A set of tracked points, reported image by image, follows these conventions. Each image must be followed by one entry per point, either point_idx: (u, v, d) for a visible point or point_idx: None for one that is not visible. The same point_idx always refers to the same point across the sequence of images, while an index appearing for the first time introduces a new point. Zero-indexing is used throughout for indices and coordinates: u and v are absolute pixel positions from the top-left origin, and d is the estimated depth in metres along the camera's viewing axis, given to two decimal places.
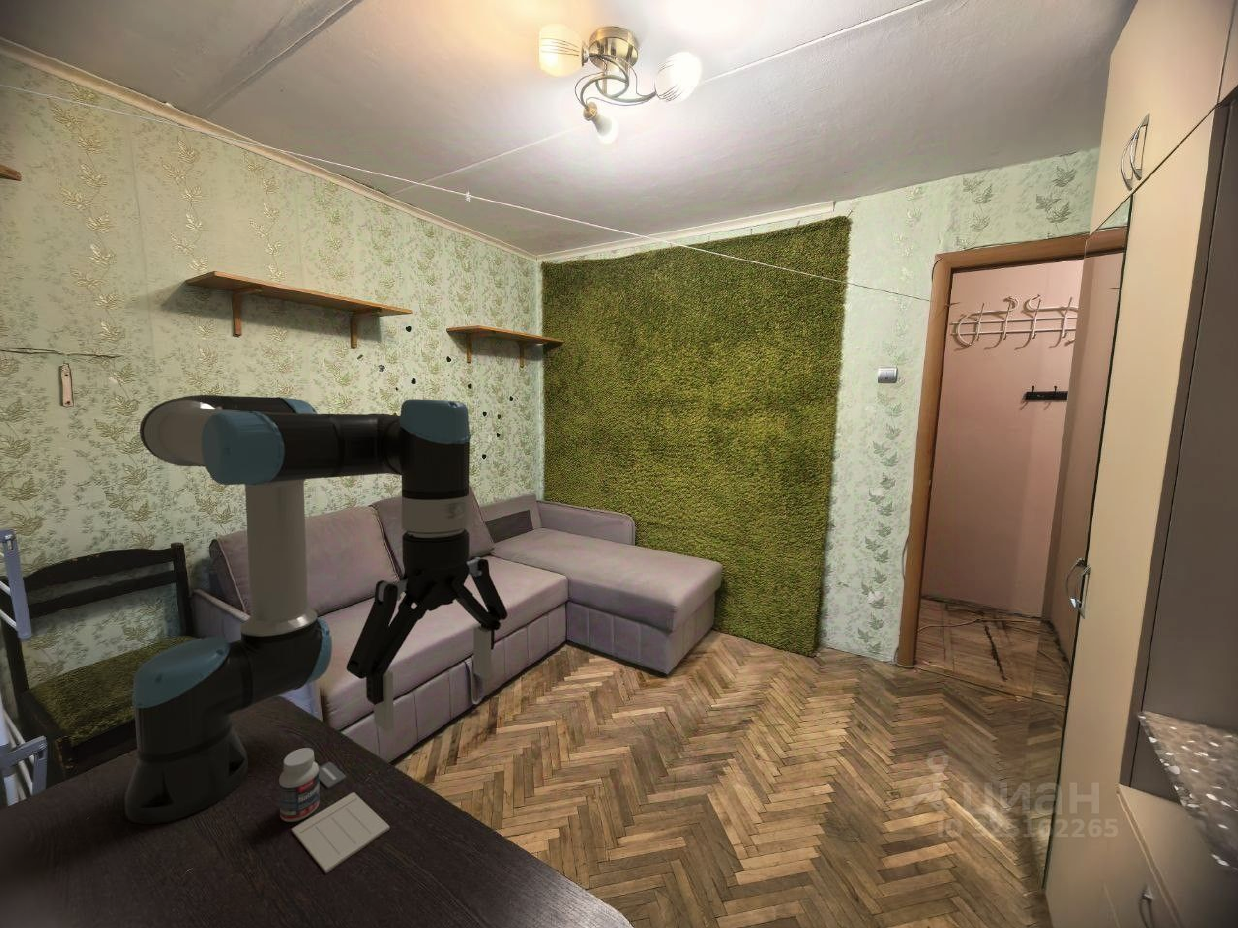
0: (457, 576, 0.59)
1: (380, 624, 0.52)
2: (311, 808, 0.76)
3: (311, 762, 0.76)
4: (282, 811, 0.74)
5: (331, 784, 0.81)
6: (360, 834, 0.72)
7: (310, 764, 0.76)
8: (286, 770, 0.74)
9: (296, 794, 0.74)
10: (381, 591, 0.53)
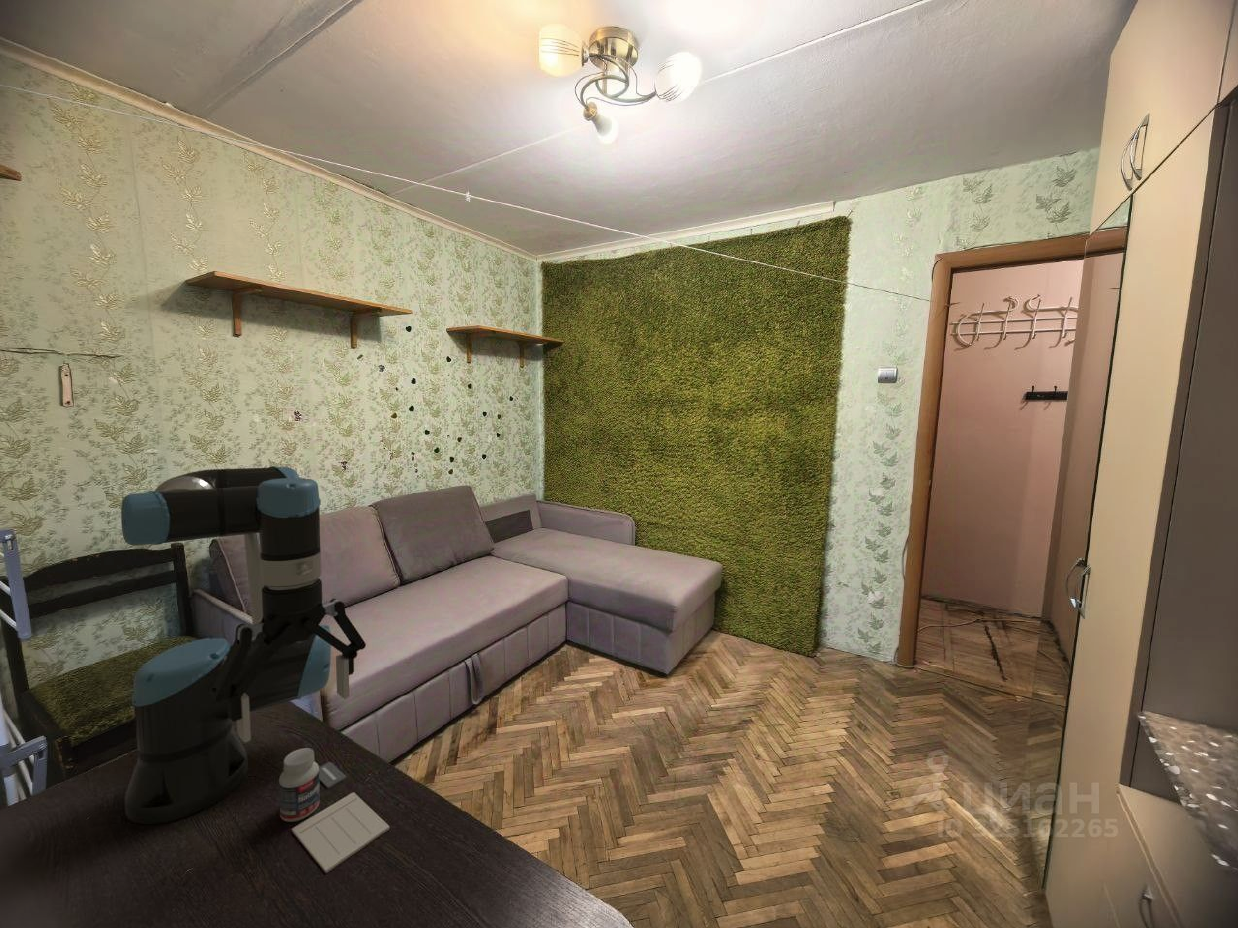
0: (312, 617, 0.75)
1: (236, 659, 0.67)
2: (311, 808, 0.76)
3: (311, 762, 0.76)
4: (282, 811, 0.74)
5: (331, 784, 0.81)
6: (360, 834, 0.72)
7: (310, 764, 0.76)
8: (286, 770, 0.74)
9: (296, 794, 0.74)
10: (238, 633, 0.68)
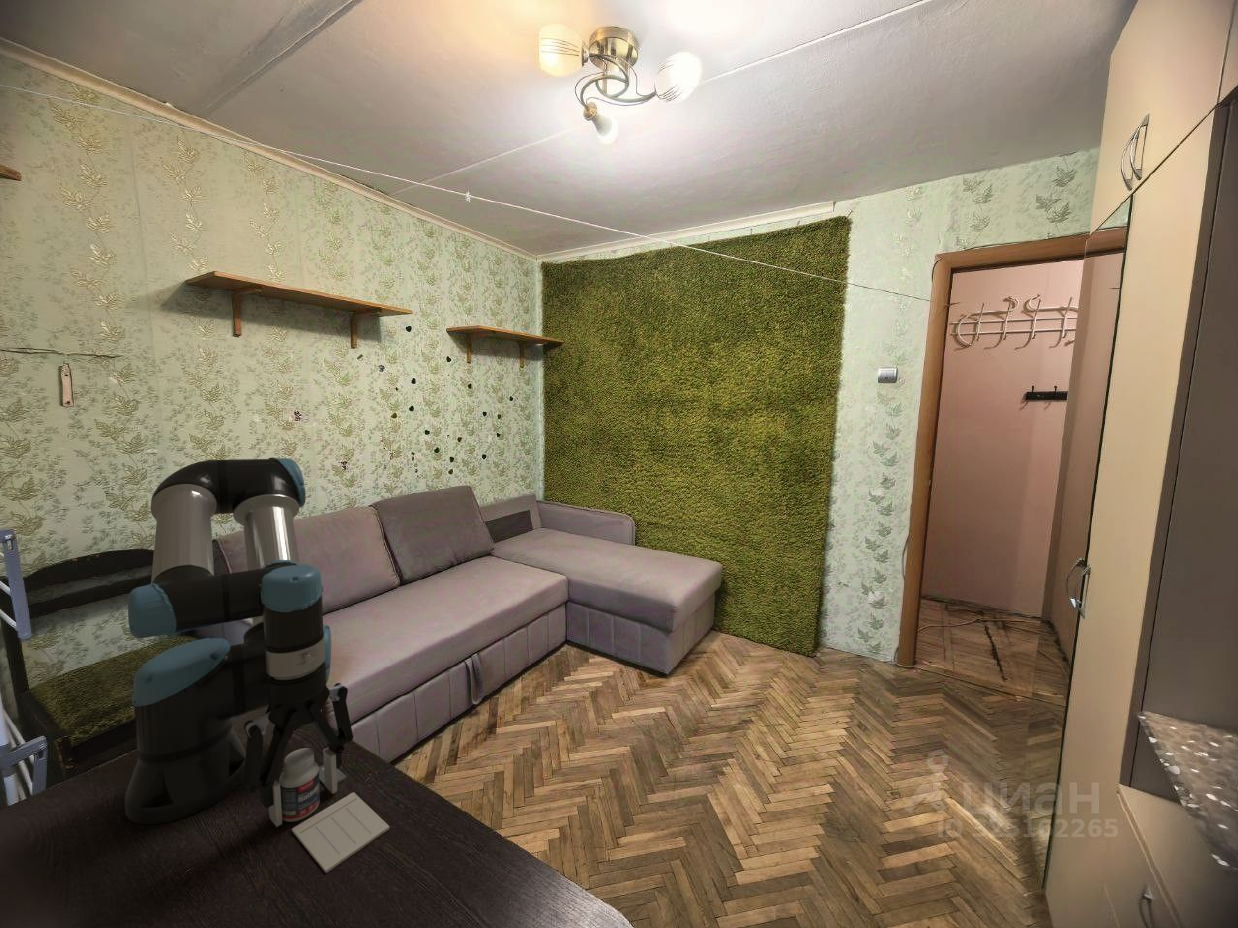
0: (316, 698, 0.76)
1: (254, 755, 0.70)
2: (311, 808, 0.76)
3: (311, 762, 0.76)
4: (282, 811, 0.74)
5: None
6: (360, 834, 0.72)
7: (310, 764, 0.76)
8: (286, 770, 0.74)
9: (296, 794, 0.74)
10: (247, 732, 0.70)
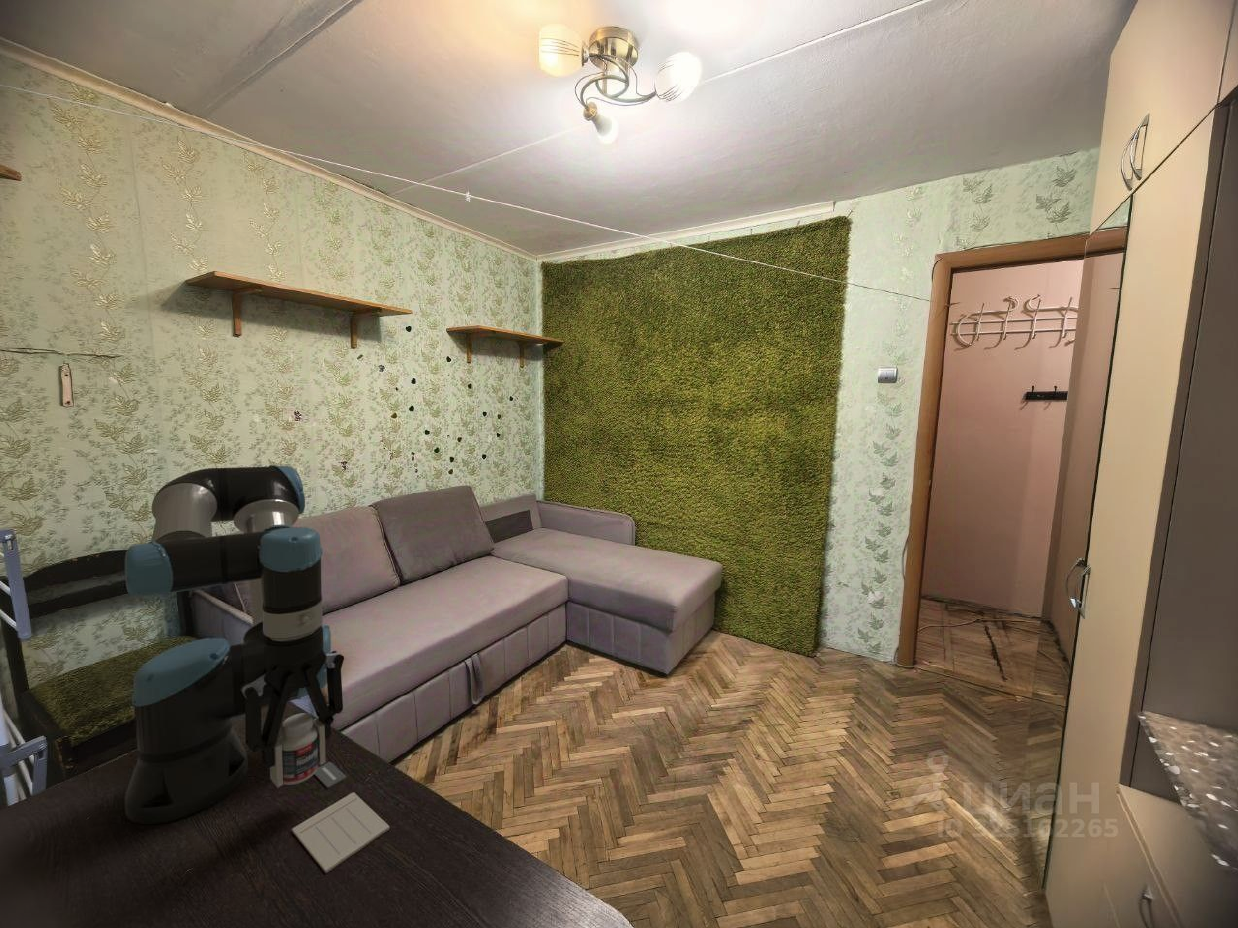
0: (313, 662, 0.75)
1: (253, 716, 0.69)
2: (309, 772, 0.75)
3: (310, 726, 0.76)
4: None
5: (331, 784, 0.81)
6: (360, 834, 0.72)
7: (308, 728, 0.75)
8: (284, 734, 0.74)
9: (294, 758, 0.74)
10: (244, 694, 0.69)
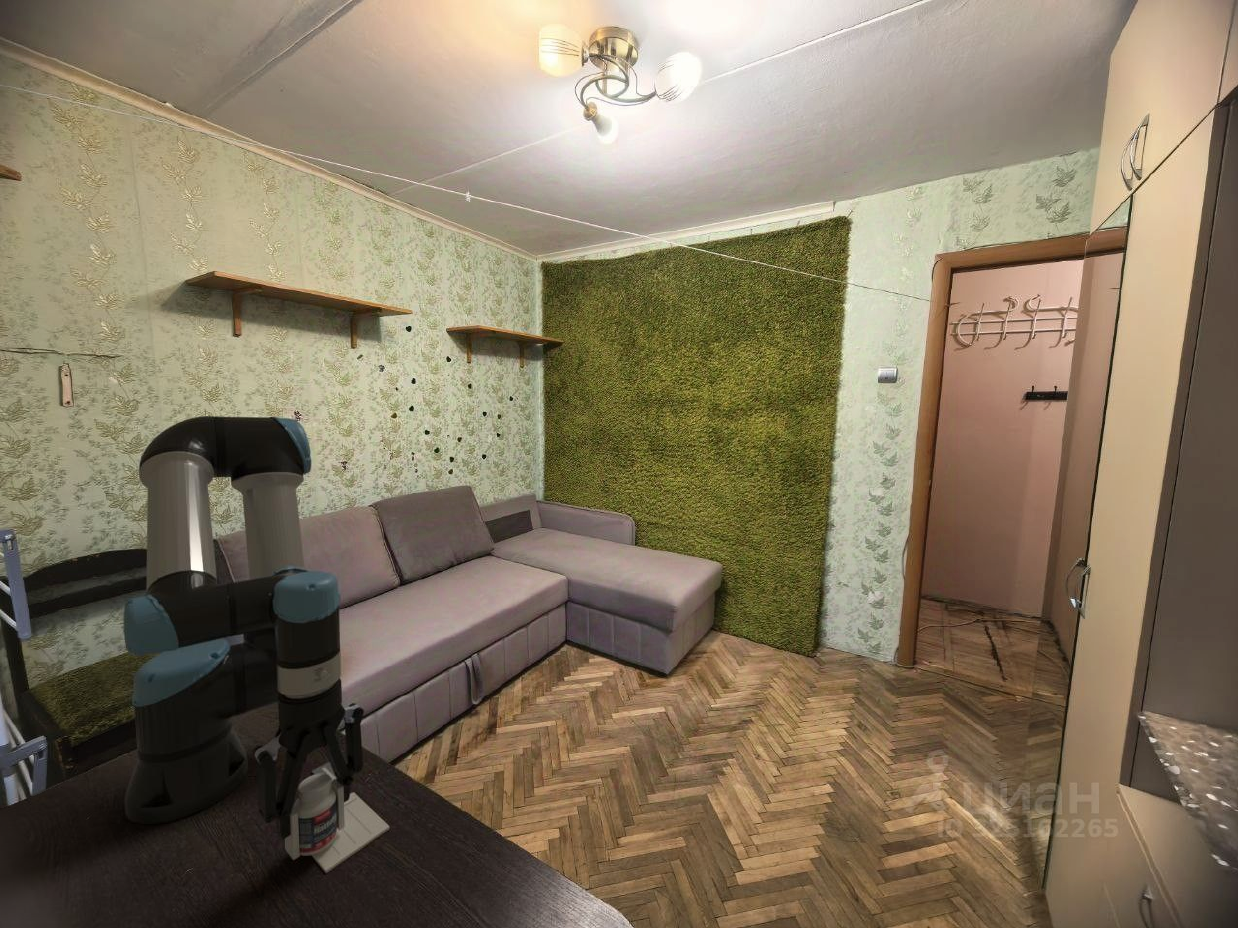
0: (331, 718, 0.69)
1: (267, 783, 0.63)
2: (328, 840, 0.69)
3: (328, 789, 0.69)
4: None
5: None
6: (360, 834, 0.72)
7: (327, 791, 0.69)
8: (301, 799, 0.67)
9: (312, 825, 0.67)
10: (257, 759, 0.63)
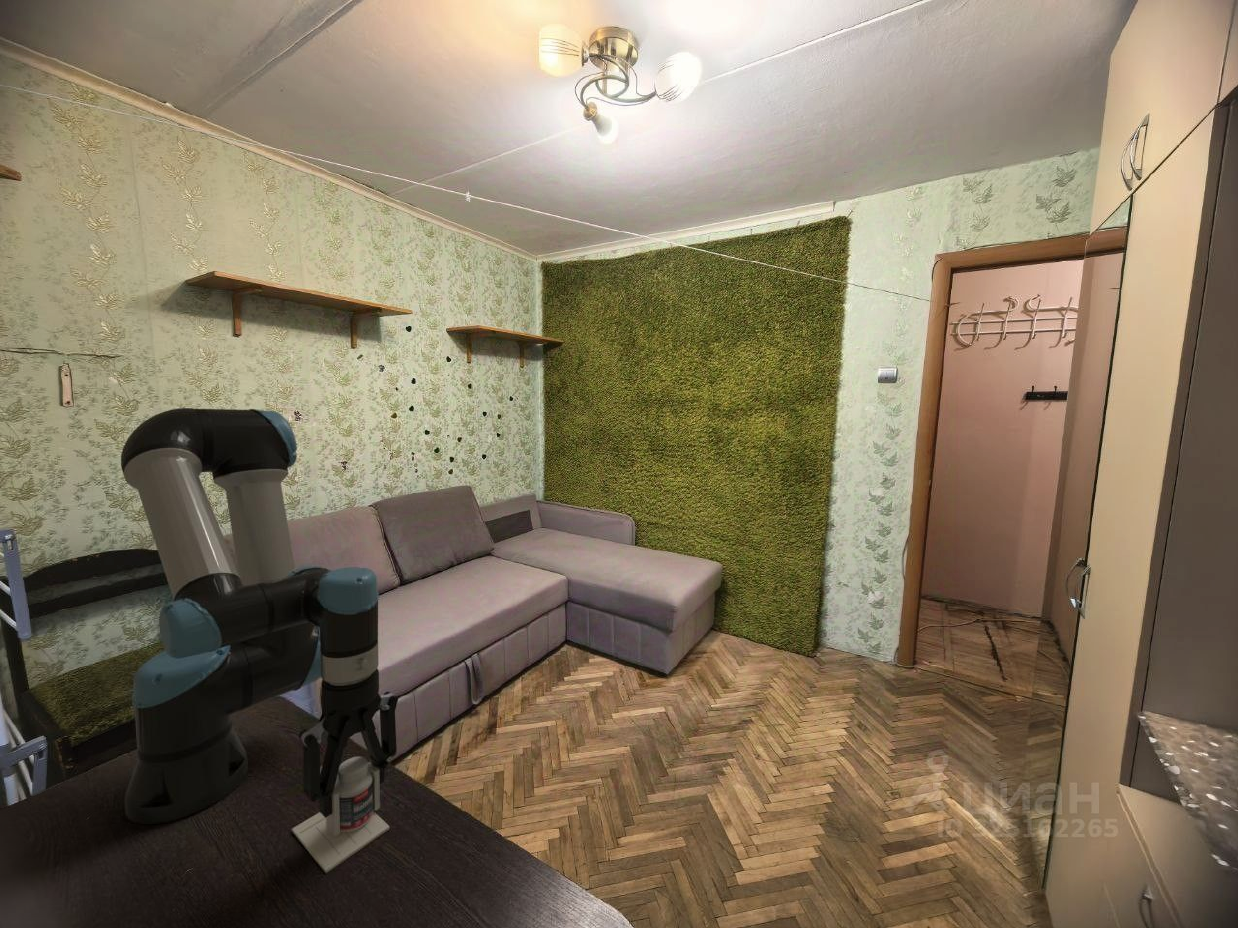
0: (369, 705, 0.74)
1: (312, 764, 0.68)
2: (366, 818, 0.73)
3: (365, 771, 0.74)
4: None
5: None
6: (360, 834, 0.72)
7: (365, 773, 0.74)
8: (341, 779, 0.72)
9: (351, 804, 0.72)
10: (303, 741, 0.68)
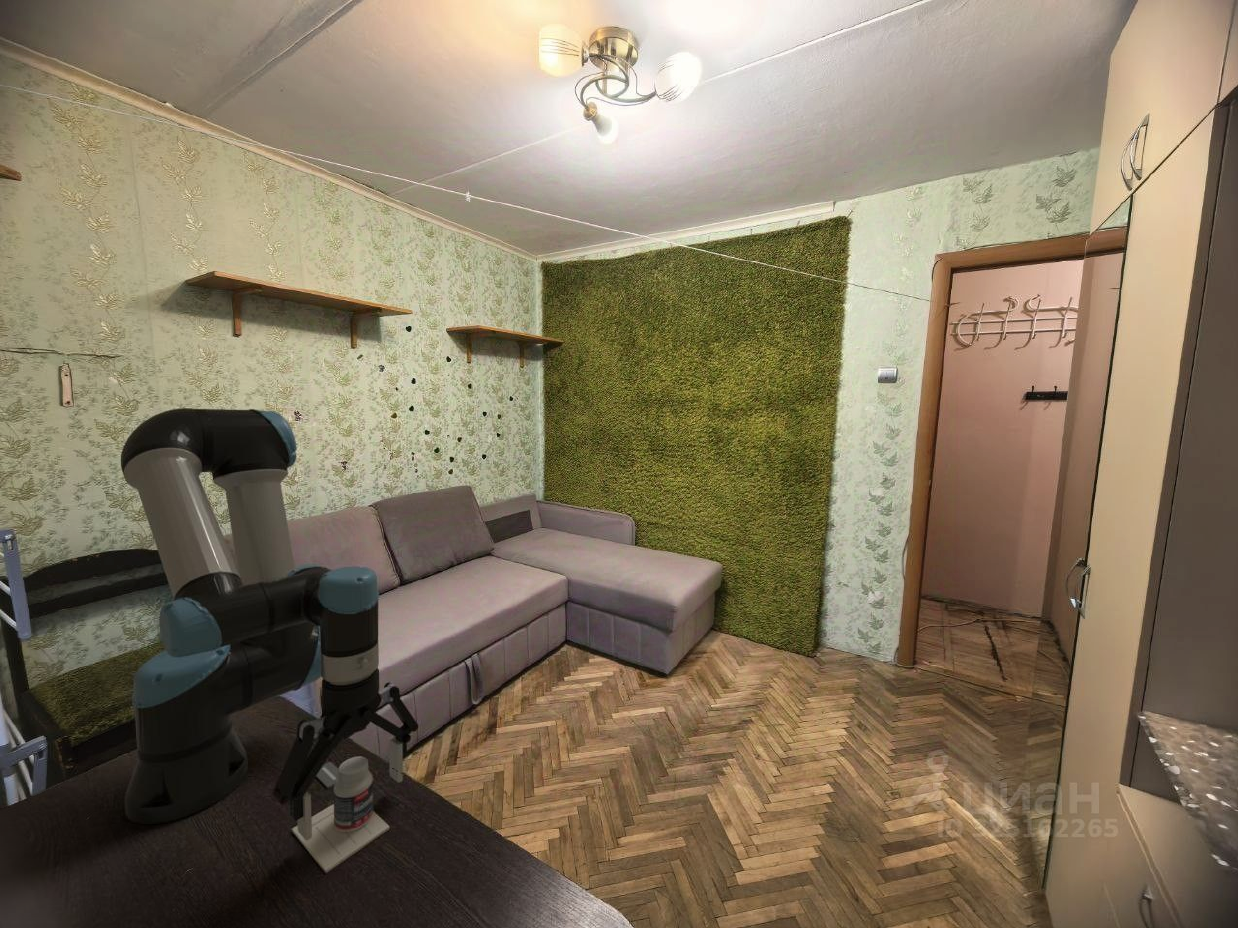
0: (369, 706, 0.74)
1: (299, 759, 0.66)
2: (366, 818, 0.73)
3: (366, 771, 0.74)
4: (337, 821, 0.72)
5: (331, 784, 0.81)
6: (360, 834, 0.72)
7: (365, 773, 0.74)
8: (341, 779, 0.72)
9: (352, 804, 0.72)
10: (301, 731, 0.67)
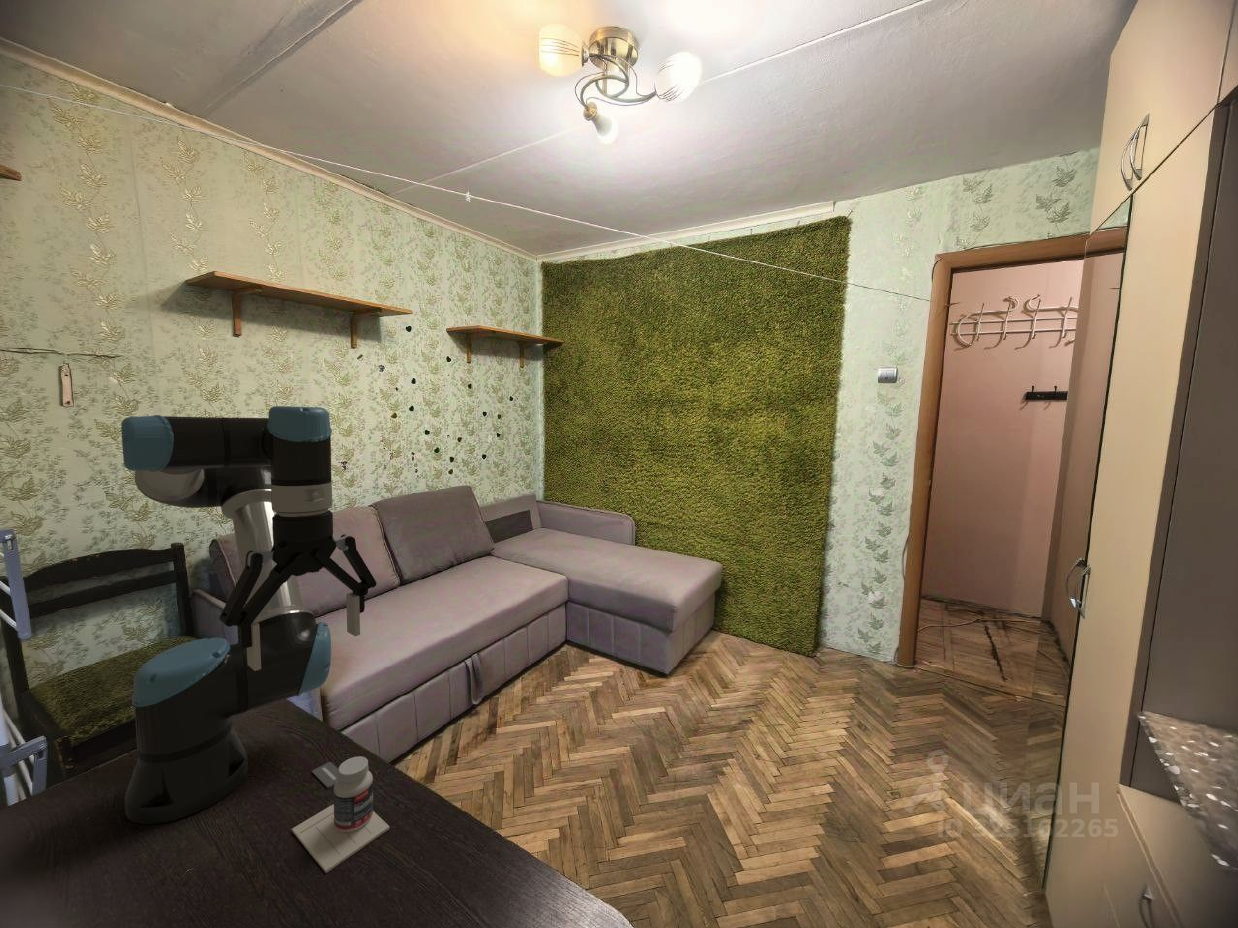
0: (323, 549, 0.73)
1: (246, 584, 0.65)
2: (366, 818, 0.73)
3: (366, 771, 0.74)
4: (337, 821, 0.72)
5: (331, 784, 0.81)
6: (360, 834, 0.72)
7: (365, 773, 0.74)
8: (341, 779, 0.72)
9: (352, 804, 0.72)
10: (249, 558, 0.67)
